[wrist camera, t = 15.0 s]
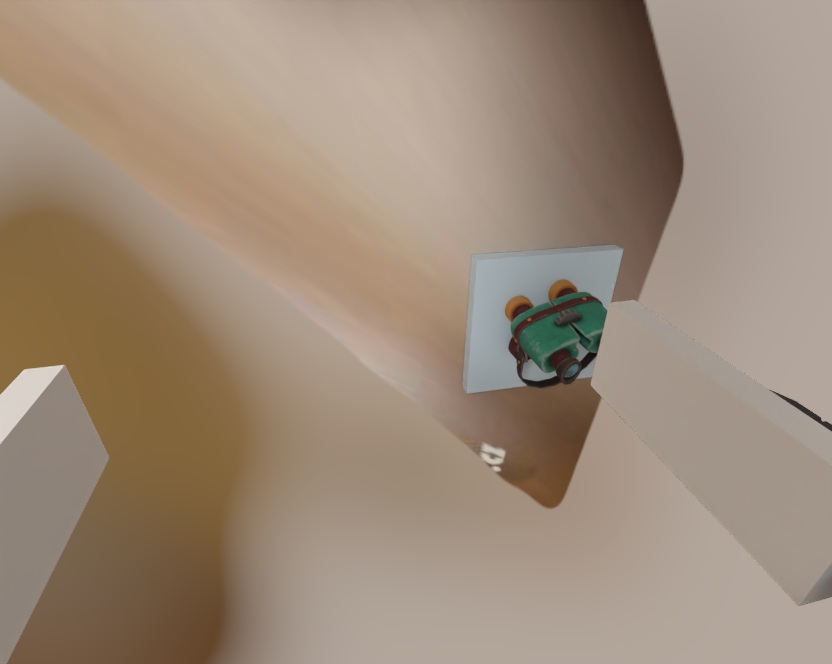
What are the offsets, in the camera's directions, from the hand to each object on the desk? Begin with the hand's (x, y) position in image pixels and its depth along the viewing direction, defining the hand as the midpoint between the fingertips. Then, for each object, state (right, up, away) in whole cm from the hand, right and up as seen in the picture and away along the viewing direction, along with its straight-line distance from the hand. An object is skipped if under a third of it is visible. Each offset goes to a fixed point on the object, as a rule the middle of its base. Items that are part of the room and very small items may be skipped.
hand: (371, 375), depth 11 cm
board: (+14, +3, +35) cm, 38 cm away
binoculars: (+14, +2, +34) cm, 37 cm away
